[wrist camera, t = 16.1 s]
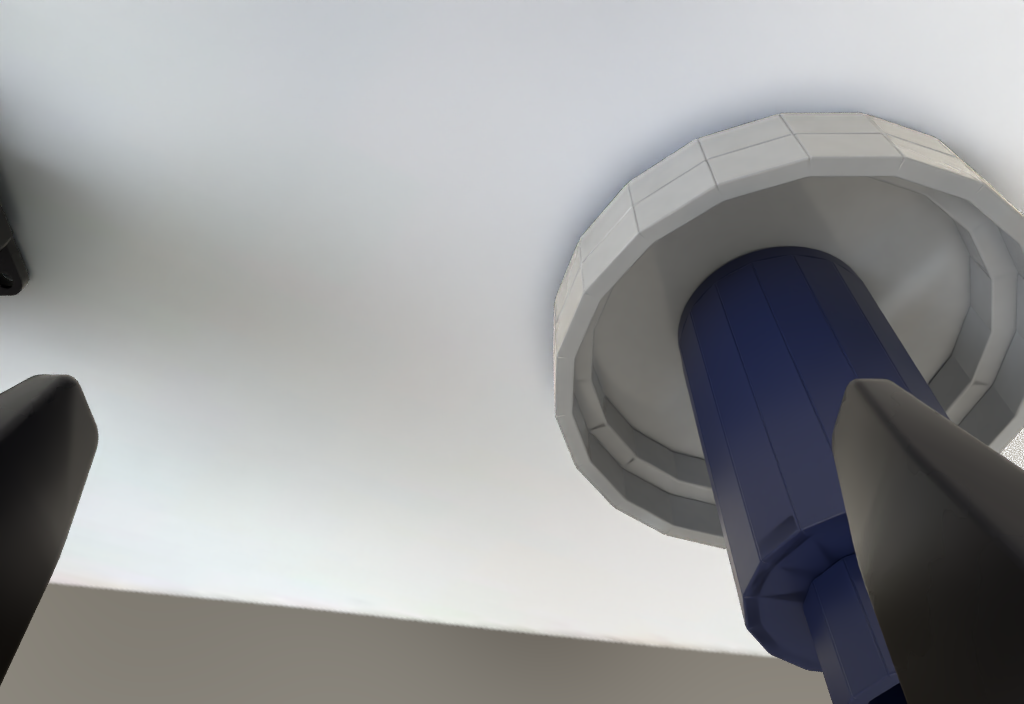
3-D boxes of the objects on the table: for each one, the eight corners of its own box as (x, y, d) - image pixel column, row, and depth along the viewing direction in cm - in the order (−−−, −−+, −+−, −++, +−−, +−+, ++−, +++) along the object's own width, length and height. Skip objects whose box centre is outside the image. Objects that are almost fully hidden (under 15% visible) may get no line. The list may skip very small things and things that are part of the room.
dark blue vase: (640, 351, 25) (709, 737, 15) (764, 210, 22) (949, 573, 12) (778, 425, 26) (921, 817, 16) (909, 303, 23) (1177, 689, 14)
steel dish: (549, 476, 28) (551, 548, 26) (557, 107, 21) (561, 157, 18) (928, 478, 28) (969, 552, 25) (1079, 105, 20) (1158, 155, 18)
